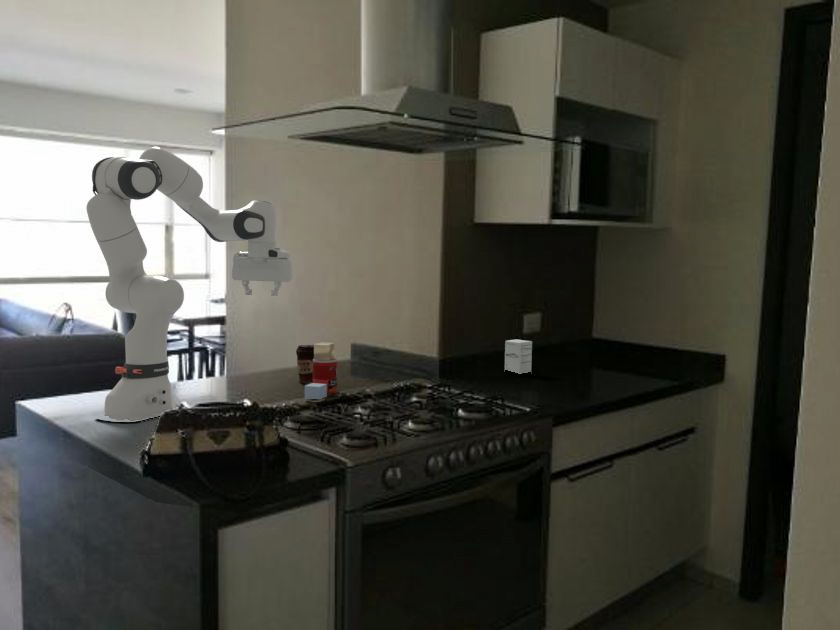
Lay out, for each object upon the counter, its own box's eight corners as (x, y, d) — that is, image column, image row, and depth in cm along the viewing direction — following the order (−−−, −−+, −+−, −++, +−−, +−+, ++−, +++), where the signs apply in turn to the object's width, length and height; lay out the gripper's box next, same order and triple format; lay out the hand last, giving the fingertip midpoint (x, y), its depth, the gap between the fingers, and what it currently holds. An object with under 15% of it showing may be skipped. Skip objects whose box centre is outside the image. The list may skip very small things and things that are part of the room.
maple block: (328, 360, 240) (328, 345, 240) (314, 359, 242) (313, 344, 241) (334, 358, 245) (334, 343, 245) (320, 357, 247) (320, 342, 246)
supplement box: (503, 374, 280) (504, 340, 279) (516, 371, 285) (517, 338, 284) (519, 376, 275) (519, 342, 274) (532, 374, 280) (532, 340, 279)
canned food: (333, 395, 240) (333, 361, 239) (309, 394, 242) (309, 360, 241) (340, 390, 247) (340, 357, 246) (317, 389, 249) (317, 356, 248)
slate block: (319, 403, 228) (319, 386, 228) (304, 402, 230) (304, 385, 229) (326, 399, 233) (326, 384, 232) (312, 398, 234) (311, 383, 234)
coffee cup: (313, 385, 256) (312, 347, 255) (291, 383, 259) (291, 346, 258) (324, 381, 264) (324, 344, 263) (303, 379, 267) (303, 343, 266)
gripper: (228, 251, 241) (227, 294, 242) (284, 252, 234) (284, 296, 235) (238, 252, 247) (238, 294, 248) (294, 252, 240) (294, 296, 241)
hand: (261, 295), depth 241 cm, fingers open, 8 cm apart
